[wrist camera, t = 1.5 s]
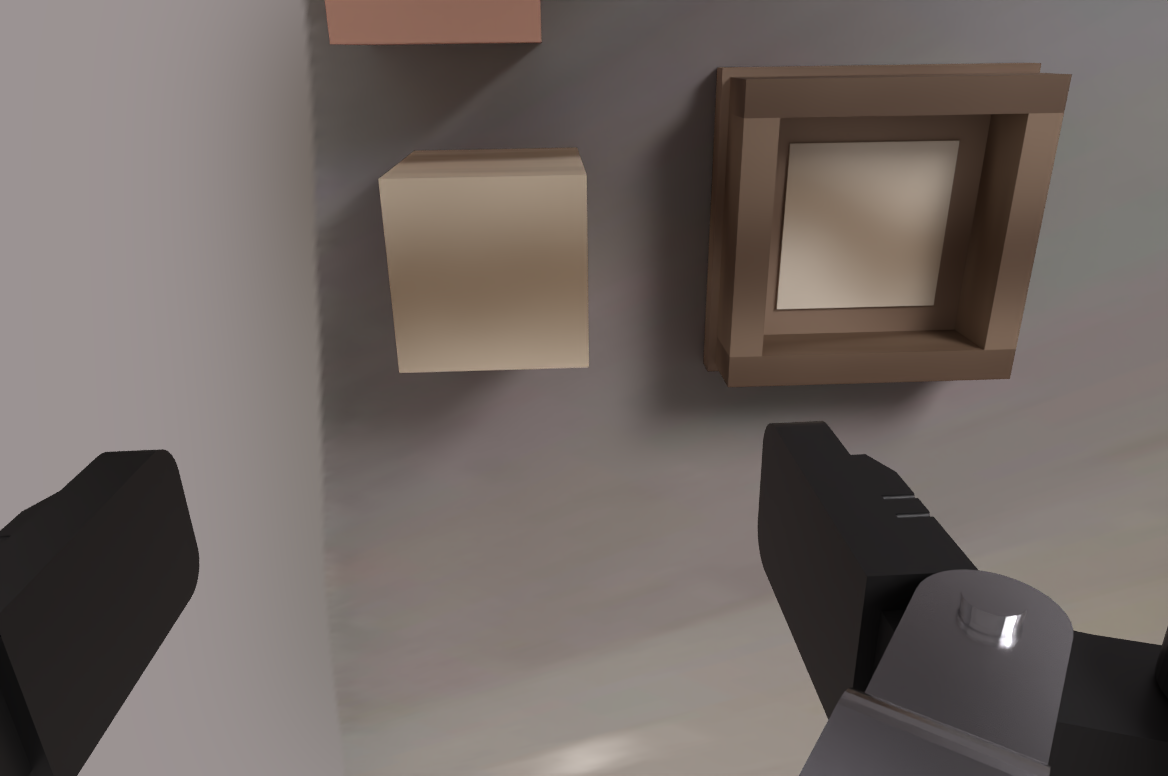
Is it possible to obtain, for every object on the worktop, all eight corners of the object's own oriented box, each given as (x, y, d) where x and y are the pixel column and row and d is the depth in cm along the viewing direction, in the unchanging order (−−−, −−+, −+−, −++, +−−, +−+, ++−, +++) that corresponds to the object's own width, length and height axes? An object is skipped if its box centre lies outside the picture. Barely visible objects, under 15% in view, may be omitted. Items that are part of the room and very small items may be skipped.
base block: (414, 150, 25) (378, 179, 19) (576, 147, 25) (586, 174, 20) (428, 306, 27) (399, 373, 21) (579, 302, 27) (588, 367, 22)
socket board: (717, 67, 24) (737, 69, 22) (1026, 62, 25) (1082, 64, 22) (703, 363, 28) (719, 395, 26) (972, 355, 28) (1015, 385, 26)
